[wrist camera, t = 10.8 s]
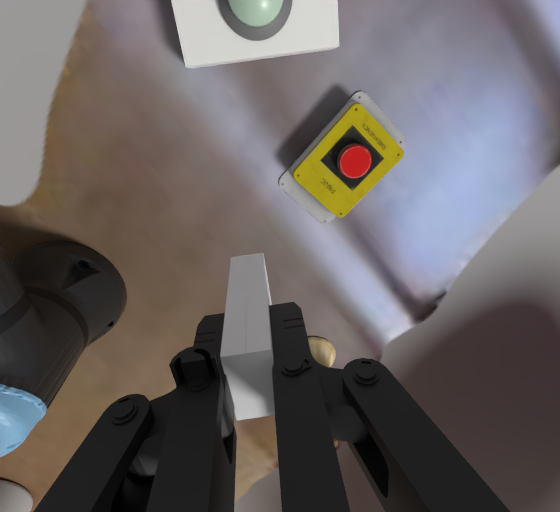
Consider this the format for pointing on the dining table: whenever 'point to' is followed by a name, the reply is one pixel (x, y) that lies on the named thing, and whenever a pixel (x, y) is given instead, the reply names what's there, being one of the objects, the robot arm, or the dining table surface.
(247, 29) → the button panel
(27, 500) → the cylinder vase
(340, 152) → the emergency button
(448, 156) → the dining table surface
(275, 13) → the sage-green button
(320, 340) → the hand bell
